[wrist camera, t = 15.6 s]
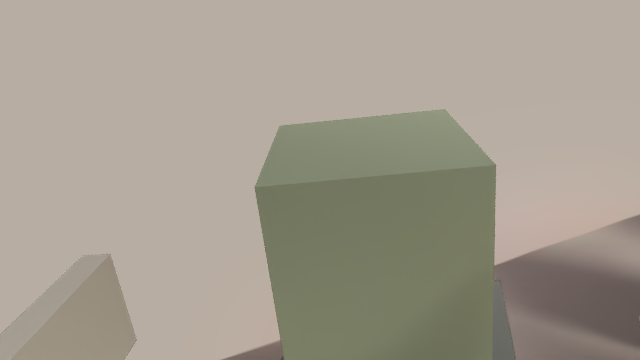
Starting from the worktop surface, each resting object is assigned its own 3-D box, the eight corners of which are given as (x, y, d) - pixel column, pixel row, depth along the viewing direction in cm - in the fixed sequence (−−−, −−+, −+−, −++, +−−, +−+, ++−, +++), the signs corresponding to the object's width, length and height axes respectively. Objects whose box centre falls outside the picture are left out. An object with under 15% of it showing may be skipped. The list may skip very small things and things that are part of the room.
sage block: (448, 308, 24) (444, 109, 20) (490, 426, 18) (495, 164, 14) (307, 318, 25) (279, 125, 21) (297, 437, 18) (254, 187, 14)
